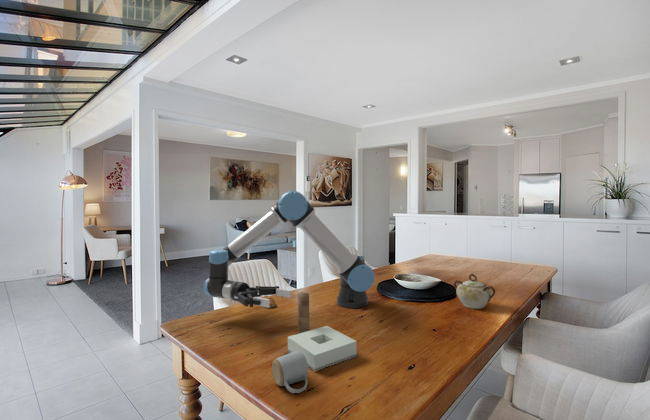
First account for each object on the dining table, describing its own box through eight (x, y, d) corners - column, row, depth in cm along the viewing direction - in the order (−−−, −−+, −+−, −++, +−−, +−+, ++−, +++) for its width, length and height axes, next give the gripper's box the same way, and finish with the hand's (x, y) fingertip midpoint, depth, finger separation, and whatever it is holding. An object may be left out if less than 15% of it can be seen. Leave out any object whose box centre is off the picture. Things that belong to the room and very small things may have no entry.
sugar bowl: (445, 304, 157) (445, 272, 156) (462, 298, 166) (462, 268, 165) (486, 315, 141) (486, 280, 140) (502, 308, 150) (503, 275, 149)
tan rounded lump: (279, 307, 155) (278, 299, 154) (265, 310, 151) (265, 302, 151) (270, 302, 162) (270, 294, 162) (257, 305, 158) (257, 297, 158)
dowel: (296, 337, 120) (295, 293, 119) (305, 334, 122) (305, 292, 122) (302, 341, 116) (301, 296, 116) (311, 338, 119) (311, 294, 118)
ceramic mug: (270, 380, 92) (270, 353, 91) (296, 371, 96) (296, 345, 96) (287, 400, 83) (287, 370, 82) (315, 389, 87) (315, 361, 87)
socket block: (287, 351, 109) (287, 336, 108) (327, 339, 118) (326, 325, 118) (314, 372, 96) (314, 355, 95) (356, 356, 105) (356, 341, 105)
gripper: (256, 292, 144) (297, 299, 134) (213, 309, 122) (258, 319, 112) (256, 275, 144) (297, 281, 134) (213, 289, 122) (258, 297, 112)
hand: (280, 298), depth 123 cm, fingers open, 13 cm apart
